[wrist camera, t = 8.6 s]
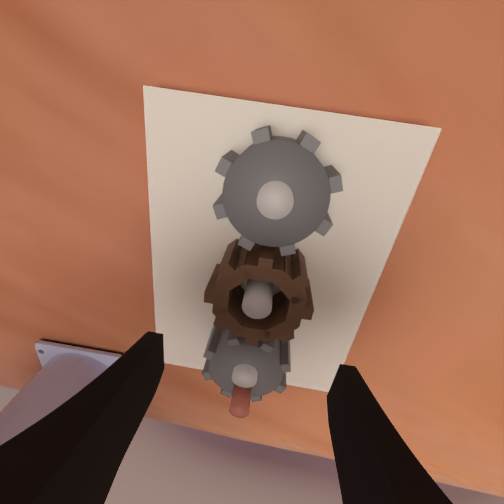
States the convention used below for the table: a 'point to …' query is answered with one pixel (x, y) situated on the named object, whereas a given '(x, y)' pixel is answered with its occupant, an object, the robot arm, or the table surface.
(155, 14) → the table surface
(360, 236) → the gear board
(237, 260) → the walnut gear
